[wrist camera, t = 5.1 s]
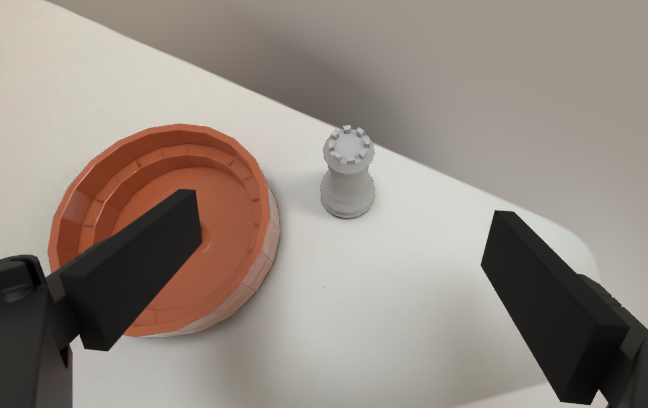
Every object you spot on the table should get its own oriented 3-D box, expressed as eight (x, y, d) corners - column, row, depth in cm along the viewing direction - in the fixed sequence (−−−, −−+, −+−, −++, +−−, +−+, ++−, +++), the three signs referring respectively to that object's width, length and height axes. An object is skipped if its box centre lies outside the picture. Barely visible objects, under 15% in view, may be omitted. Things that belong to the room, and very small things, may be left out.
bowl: (314, 196, 28) (309, 171, 24) (210, 376, 23) (181, 386, 19) (170, 129, 31) (144, 97, 27) (54, 276, 26) (0, 264, 22)
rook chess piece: (350, 161, 29) (353, 100, 21) (385, 198, 27) (401, 146, 20) (309, 191, 28) (297, 138, 21) (343, 230, 27) (343, 189, 19)
